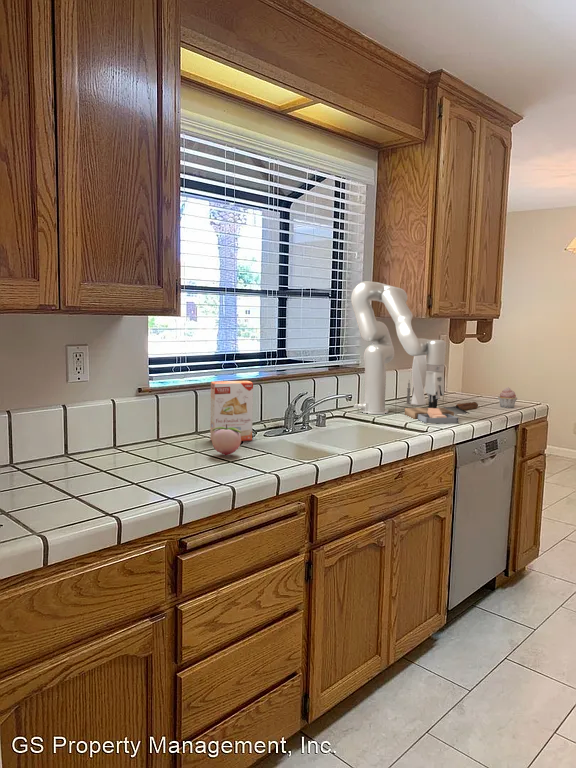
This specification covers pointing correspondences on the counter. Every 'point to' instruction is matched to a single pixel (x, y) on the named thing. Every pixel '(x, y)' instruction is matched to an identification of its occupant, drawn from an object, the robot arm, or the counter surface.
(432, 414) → the tile front
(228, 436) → the decorative fruit
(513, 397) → the cupcake
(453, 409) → the meat cleaver
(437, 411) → the tile rear
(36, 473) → the counter surface
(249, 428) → the cracker box
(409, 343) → the robot arm
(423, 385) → the skyscraper
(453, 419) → the tray
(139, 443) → the counter surface
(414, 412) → the board
